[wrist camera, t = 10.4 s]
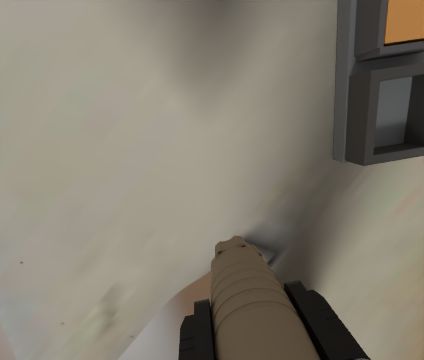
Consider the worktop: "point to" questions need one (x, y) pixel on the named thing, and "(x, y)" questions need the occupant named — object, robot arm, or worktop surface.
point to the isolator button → (404, 22)
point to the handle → (253, 309)
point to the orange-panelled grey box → (376, 89)
